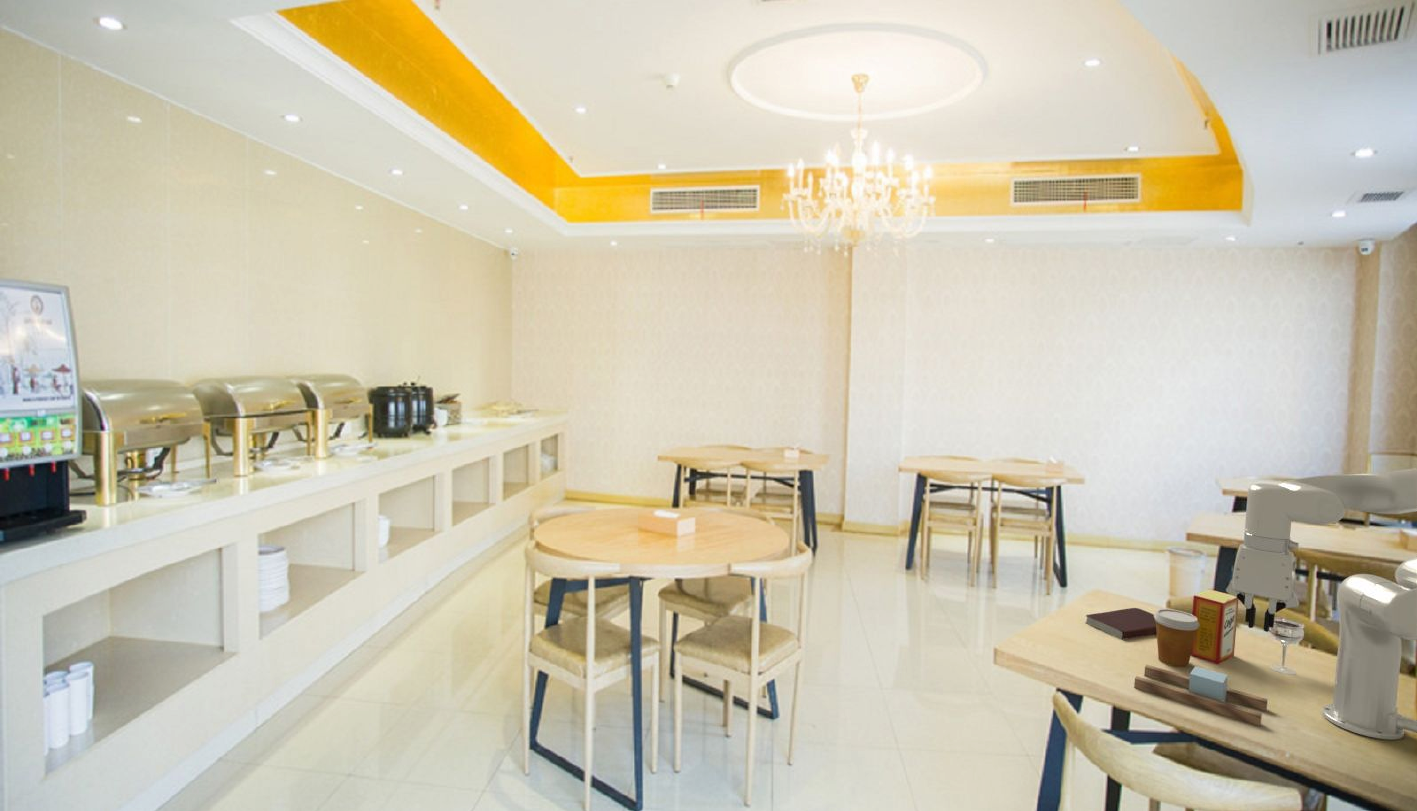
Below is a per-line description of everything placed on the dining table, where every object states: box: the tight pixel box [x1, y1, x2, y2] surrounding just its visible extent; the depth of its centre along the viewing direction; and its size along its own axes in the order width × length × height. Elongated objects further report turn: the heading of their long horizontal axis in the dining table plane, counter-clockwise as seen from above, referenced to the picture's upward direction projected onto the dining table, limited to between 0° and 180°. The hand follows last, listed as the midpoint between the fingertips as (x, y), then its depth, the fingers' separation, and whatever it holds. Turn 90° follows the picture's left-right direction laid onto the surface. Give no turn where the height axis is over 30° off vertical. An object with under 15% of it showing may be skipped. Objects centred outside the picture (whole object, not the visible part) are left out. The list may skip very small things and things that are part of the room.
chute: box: [1133, 664, 1269, 727], centre depth 158 cm, size 23×10×2 cm, turn 45°
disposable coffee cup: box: [1154, 608, 1200, 668], centre depth 176 cm, size 10×10×12 cm
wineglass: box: [1268, 616, 1305, 675], centre depth 173 cm, size 7×7×12 cm
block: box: [1188, 665, 1228, 703], centre depth 157 cm, size 6×6×6 cm
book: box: [1085, 607, 1157, 640], centre depth 199 cm, size 12×19×3 cm, turn 109°
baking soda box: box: [1190, 588, 1240, 665], centre depth 181 cm, size 10×6×16 cm
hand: (1259, 627), depth 150 cm, fingers closed
